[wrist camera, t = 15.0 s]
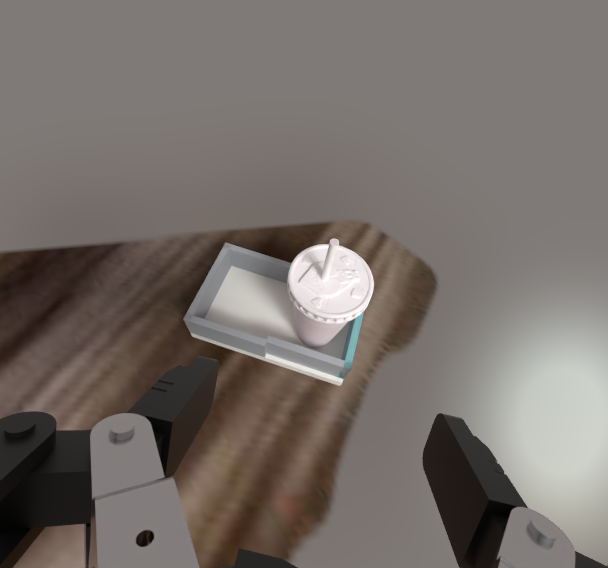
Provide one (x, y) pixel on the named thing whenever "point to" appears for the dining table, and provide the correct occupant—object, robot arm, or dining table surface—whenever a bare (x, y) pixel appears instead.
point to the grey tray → (263, 316)
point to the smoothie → (327, 291)
